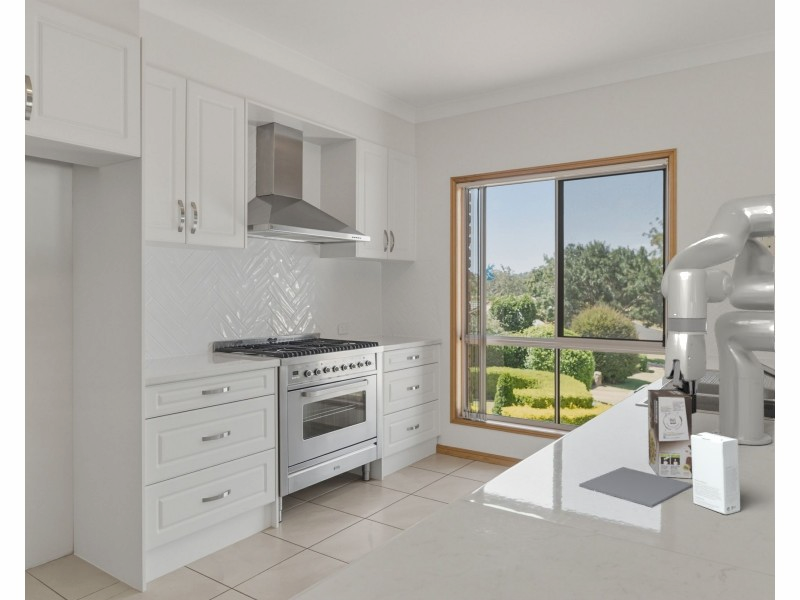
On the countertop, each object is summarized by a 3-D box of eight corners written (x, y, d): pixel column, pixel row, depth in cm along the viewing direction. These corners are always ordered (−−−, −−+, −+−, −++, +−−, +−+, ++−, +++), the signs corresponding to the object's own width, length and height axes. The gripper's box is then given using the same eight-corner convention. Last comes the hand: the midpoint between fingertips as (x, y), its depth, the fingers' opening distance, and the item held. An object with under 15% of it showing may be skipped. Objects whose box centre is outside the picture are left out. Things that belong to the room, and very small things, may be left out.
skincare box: (741, 511, 94) (741, 438, 94) (724, 516, 92) (723, 442, 92) (707, 499, 99) (707, 430, 99) (690, 503, 97) (689, 433, 97)
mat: (622, 468, 117) (622, 466, 117) (692, 486, 106) (692, 484, 106) (579, 486, 107) (579, 484, 107) (651, 507, 96) (651, 504, 96)
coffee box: (693, 479, 110) (692, 396, 110) (658, 477, 111) (657, 396, 111) (680, 464, 119) (679, 388, 119) (647, 463, 120) (646, 388, 120)
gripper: (684, 325, 128) (684, 405, 128) (652, 327, 118) (652, 414, 118) (720, 326, 122) (720, 410, 122) (689, 328, 112) (689, 420, 113)
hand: (687, 412), depth 120 cm, fingers closed
